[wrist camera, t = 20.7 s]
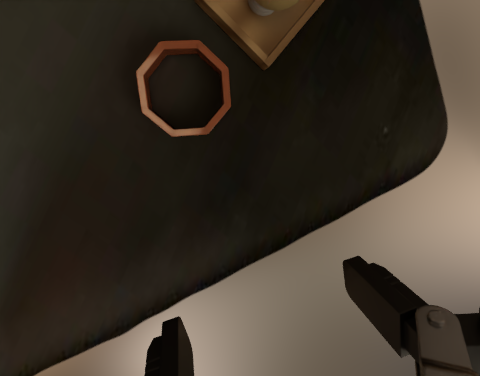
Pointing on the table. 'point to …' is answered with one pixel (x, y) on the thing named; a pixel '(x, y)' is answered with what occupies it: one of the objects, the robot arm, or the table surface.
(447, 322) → the robot arm
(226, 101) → the orange octagonal ring
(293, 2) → the light bulb
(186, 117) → the table surface
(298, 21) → the tray
